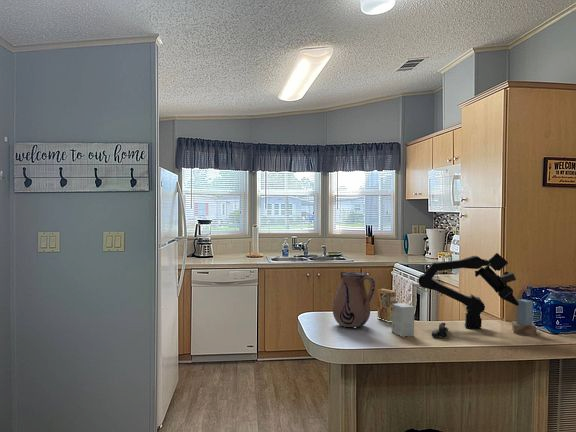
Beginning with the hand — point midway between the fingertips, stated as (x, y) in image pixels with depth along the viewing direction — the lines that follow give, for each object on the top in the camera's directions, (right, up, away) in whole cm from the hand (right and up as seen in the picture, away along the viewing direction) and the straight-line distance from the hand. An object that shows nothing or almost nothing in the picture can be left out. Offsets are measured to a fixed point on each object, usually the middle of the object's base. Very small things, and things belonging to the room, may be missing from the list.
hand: (516, 303), depth 207 cm
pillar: (+3, -10, -1) cm, 10 cm away
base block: (+3, -14, -1) cm, 14 cm away
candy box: (-57, -12, +16) cm, 60 cm away
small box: (-55, -12, -9) cm, 57 cm away
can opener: (-37, -13, -7) cm, 40 cm away
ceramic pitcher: (-74, -12, +3) cm, 75 cm away
